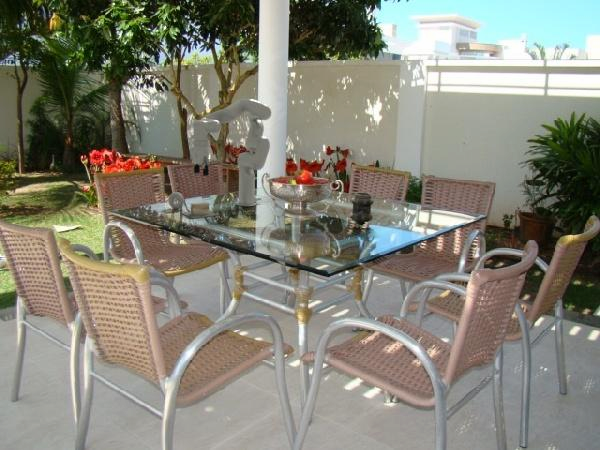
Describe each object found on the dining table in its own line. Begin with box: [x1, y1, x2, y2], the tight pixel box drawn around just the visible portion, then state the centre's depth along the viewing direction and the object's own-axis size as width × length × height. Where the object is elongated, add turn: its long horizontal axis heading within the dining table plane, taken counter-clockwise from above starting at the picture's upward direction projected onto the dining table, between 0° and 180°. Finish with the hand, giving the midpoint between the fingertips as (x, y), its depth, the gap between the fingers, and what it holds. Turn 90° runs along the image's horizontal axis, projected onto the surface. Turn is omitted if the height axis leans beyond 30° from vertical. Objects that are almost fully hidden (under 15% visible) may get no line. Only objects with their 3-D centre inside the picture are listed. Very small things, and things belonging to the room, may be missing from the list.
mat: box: [180, 210, 220, 220], centre depth 307 cm, size 16×14×1 cm
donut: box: [168, 191, 185, 210], centre depth 318 cm, size 10×3×10 cm, turn 67°
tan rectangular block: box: [190, 201, 210, 215], centre depth 307 cm, size 4×9×6 cm, turn 128°
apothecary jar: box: [349, 191, 374, 225], centre depth 294 cm, size 12×12×18 cm
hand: (201, 174), depth 308 cm, fingers open, 9 cm apart
